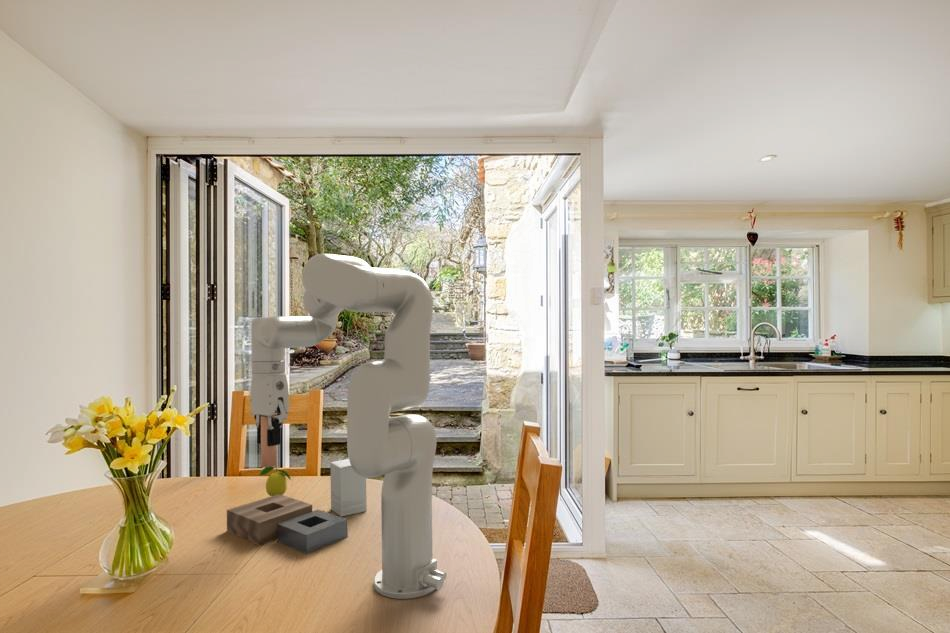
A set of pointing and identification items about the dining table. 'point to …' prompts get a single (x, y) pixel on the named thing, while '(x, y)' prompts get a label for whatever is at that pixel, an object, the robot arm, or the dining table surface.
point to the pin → (267, 451)
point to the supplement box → (347, 489)
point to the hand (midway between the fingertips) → (268, 443)
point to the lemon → (275, 481)
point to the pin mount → (312, 531)
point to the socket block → (264, 517)
